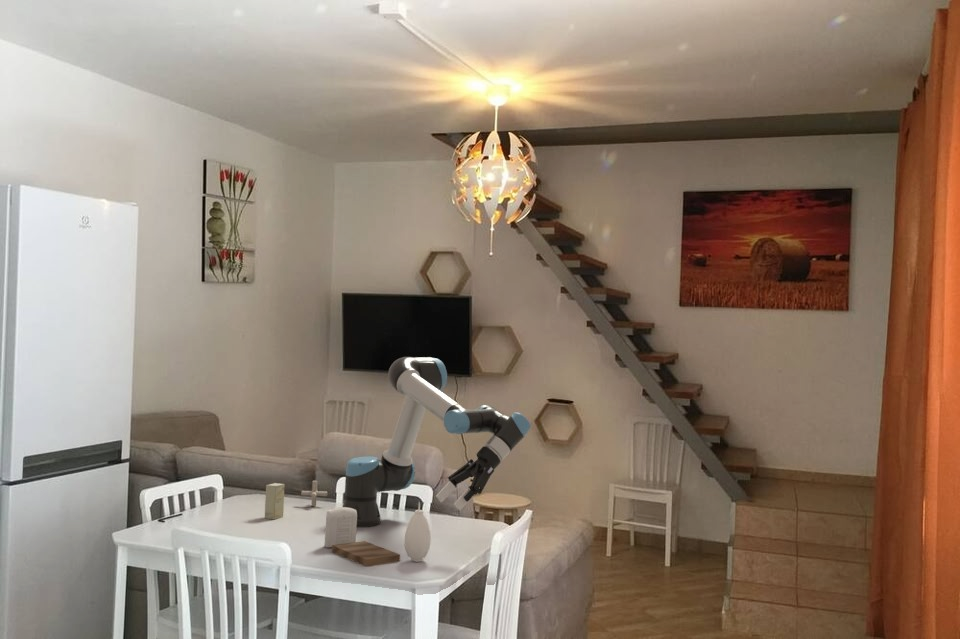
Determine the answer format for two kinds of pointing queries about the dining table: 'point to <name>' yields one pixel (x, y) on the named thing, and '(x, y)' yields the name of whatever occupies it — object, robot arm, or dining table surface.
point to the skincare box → (274, 501)
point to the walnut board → (365, 553)
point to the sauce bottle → (417, 536)
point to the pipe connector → (314, 493)
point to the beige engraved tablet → (340, 526)
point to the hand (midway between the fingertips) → (447, 503)
